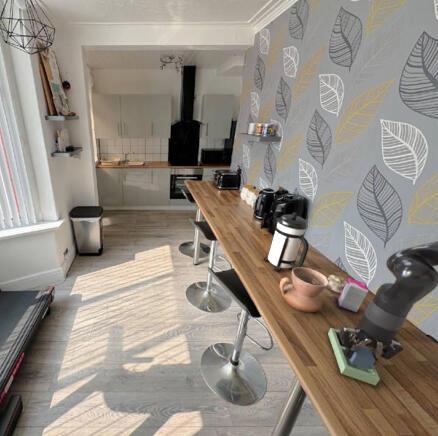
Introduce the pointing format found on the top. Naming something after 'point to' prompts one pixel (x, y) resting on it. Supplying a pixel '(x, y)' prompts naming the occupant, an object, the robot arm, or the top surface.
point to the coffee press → (288, 242)
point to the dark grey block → (341, 338)
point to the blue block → (363, 358)
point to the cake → (336, 283)
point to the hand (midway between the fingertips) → (358, 359)
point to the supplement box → (353, 295)
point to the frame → (346, 365)
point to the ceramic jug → (304, 289)
